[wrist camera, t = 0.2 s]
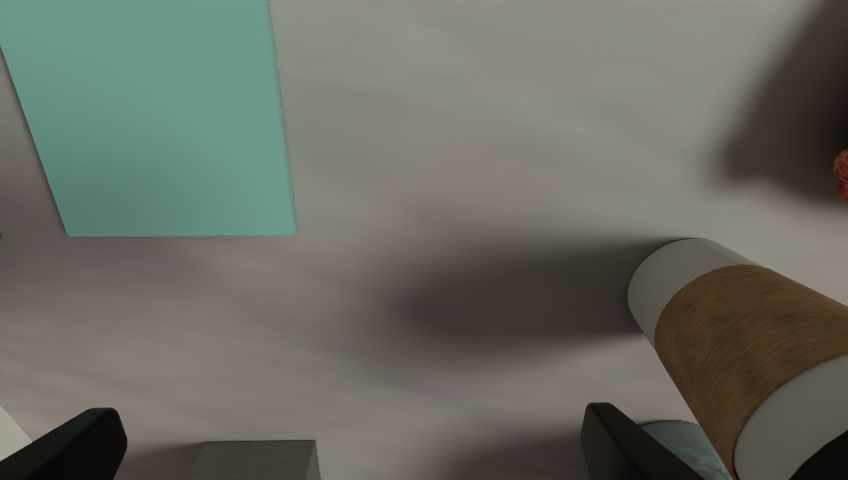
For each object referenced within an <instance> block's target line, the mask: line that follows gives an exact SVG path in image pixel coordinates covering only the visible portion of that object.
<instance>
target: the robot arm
mask: <svg viewBox="0 0 848 480" xmlns="http://www.w3.org/2000/svg"><path fill="white" fill-rule="evenodd" d="M581 445H582V449H583V453H584V457H585V460H586V464H587V468H588V471H589V475H590V479H591V480H706V479H704V478H703V477H702V476H701V475H700V474H698V473H697V472H696V471H695V470H693V469H692V468H691V467H690V466H688V465H687V464H686V463H685V462H683V461H682V460H681V459H680V458H678V457H677V456H676V455H675V454H673V453H672V452H671V451H670V450H668V449H667V448H666V447H665V446H663V445H662V444H661V443H660V442H658V441H657V440H656V439H655V438H653V437H652V436H651V435H650V434H648V433H647V432H646V431H645V430H643V429H642V428H641V427H640V426H638V425H637V424H636V423H635V422H634V421H632V420H631V419H630V418H629V417H627V416H626V415H625V414H624V413H622V412H621V411H620V410H619V409H617V408H616V407H615V406H614V405H612V404H610V403H607V402H600V403H589V404H588V405H587V407H586V410H585V415H584V420H583V425H582V430H581ZM126 449H127V436H126V434H125V431H124V428H123V425H122V422H121V419H120V417H119V414H118V412H117V411H116V410H115V409H114V408H91V409H88V410H86V411H84V412H83V413H81V414H79V415H78V416H76V417H74V418H72V419H71V420H69V421H67V422H66V423H64V424H62V425H61V426H59V427H57V428H56V429H54V430H52V431H50V432H49V433H47V434H45V435H44V436H42V437H40V438H39V439H37V440H35V441H34V442H32V443H30V444H28V445H27V446H25V447H23V448H22V449H20V450H18V451H17V452H15V453H13V454H11V455H10V456H8V457H6V458H5V459H3V460H1V461H0V480H113V479H114V477H115V475H116V472H117V470H118V468H119V466H120V464H121V462H122V459H123V457H124V455H125V452H126Z"/></svg>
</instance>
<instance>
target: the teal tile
mask: <svg viewBox="0 0 848 480" xmlns="http://www.w3.org/2000/svg"><path fill="white" fill-rule="evenodd" d="M0 46H1V49H2V52H3V55H4V57H5V60H6V63H7V66H8V69H9V72H10V74H11V77H12V80H13V83H14V86H15V89H16V91H17V94H18V97H19V100H20V103H21V106H22V108H23V111H24V114H25V117H26V120H27V123H28V125H29V128H30V131H31V134H32V137H33V140H34V142H35V145H36V148H37V151H38V154H39V157H40V159H41V162H42V165H43V168H44V171H45V174H46V176H47V179H48V182H49V185H50V188H51V191H52V193H53V196H54V199H55V202H56V205H57V208H58V210H59V213H60V216H61V219H62V222H63V224H64V227H65V230H66V233H67V236H68V237H138V236H279V235H295V233H296V232H297V225H296V217H295V209H294V201H293V193H292V185H291V177H290V169H289V161H288V153H287V145H286V137H285V129H284V120H283V112H282V104H281V96H280V88H279V80H278V72H277V64H276V56H275V48H274V40H273V32H272V24H271V16H270V8H269V0H0Z"/></svg>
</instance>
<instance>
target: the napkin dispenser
mask: <svg viewBox="0 0 848 480" xmlns="http://www.w3.org/2000/svg"><path fill="white" fill-rule="evenodd" d="M185 480H321V479H320V472H319V464H318V457H317V449H316V442H315V440H310V441H250V442H204V444H203V446H202V448H201V450H200V452H199V454H198V456H197V458H196V460H195V461H194V463H193V465H192V467H191V469H190V471H189V473H188V475H187V477H186V479H185Z"/></svg>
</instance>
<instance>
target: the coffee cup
mask: <svg viewBox="0 0 848 480" xmlns="http://www.w3.org/2000/svg"><path fill="white" fill-rule="evenodd" d="M627 299H628V306H629V309H630V311H631V313H632V315H633V317H634V319H635V320H636V322H637V323H638V325H639V326H640V328H641V329H642V331H643V332H644V334H645V336H646V337H647V339H648V340H649V342H650V343H651V345H652V346H653V348H654V349H655V351H656V352H657V354H658V357H659V359H660V360H661V362H662V364H663V365H664V367H665V369H666V370H667V372H668V373H669V375H670V377H671V378H672V380H673V382H674V383H675V385H676V387H677V388H678V390H679V392H680V393H681V395H682V396H683V398H684V400H685V401H686V403H687V405H688V406H689V408H690V410H691V411H692V413H693V415H694V416H695V418H696V419H697V421H698V423H699V424H700V426H701V428H702V429H703V431H704V433H705V434H706V436H707V438H708V439H709V441H710V442H711V444H712V446H713V447H714V449H715V451H716V452H717V454H718V456H719V457H720V459H721V461H722V462H723V464H724V465H725V467H726V469H727V470H728V472H729V474H730V475H731V477H732V479H733V480H848V307H847V306H845V305H843V304H841V303H839V302H837V301H835V300H833V299H831V298H829V297H826V296H824V295H822V294H820V293H818V292H816V291H814V290H812V289H810V288H808V287H806V286H804V285H802V284H800V283H797V282H795V281H793V280H791V279H789V278H787V277H785V276H783V275H781V274H779V273H777V272H775V271H773V270H771V269H768V268H764V267H762V266H761V265H759V264H757V263H755V262H753V261H751V260H749V259H747V258H745V257H743V256H741V255H739V254H738V253H736V252H734V251H732V250H730V249H728V248H726V247H724V246H722V245H720V244H718V243H716V242H713V241H709V240H706V239H695V238H693V239H684V240H679V241H676V242H672V243H670V244H668V245H665V246H663V247H661V248H659V249H658V250H656V251H655V252H653V253H652V254H651V255H649V256H648V257H647V258H646V259H645V260H644V261H643V262H642V263H641V264H640V266H639V267H638V268H637V269H636V271H635V273H634V275H633V276H632V278H631V281H630V284H629V287H628V296H627Z"/></svg>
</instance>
